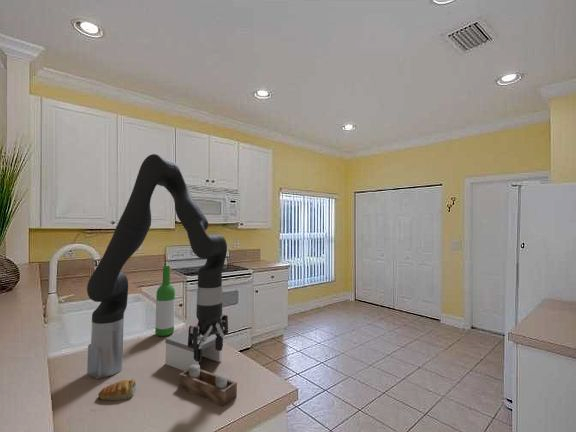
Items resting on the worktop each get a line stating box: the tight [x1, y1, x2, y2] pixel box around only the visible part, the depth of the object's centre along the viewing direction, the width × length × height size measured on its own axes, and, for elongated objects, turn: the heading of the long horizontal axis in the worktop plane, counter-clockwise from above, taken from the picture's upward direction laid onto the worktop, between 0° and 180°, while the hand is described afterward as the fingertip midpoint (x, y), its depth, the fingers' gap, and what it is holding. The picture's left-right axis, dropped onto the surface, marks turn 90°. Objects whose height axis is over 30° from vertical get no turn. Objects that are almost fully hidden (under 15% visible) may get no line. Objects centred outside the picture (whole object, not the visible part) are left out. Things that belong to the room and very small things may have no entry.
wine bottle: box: [154, 265, 176, 337], centre depth 135 cm, size 8×8×30 cm
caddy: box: [178, 364, 238, 407], centre depth 90 cm, size 18×6×6 cm, turn 60°
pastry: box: [98, 378, 137, 401], centre depth 87 cm, size 9×7×4 cm
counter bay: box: [164, 329, 223, 372], centre depth 108 cm, size 13×15×9 cm
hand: (208, 355), depth 90 cm, fingers open, 8 cm apart
